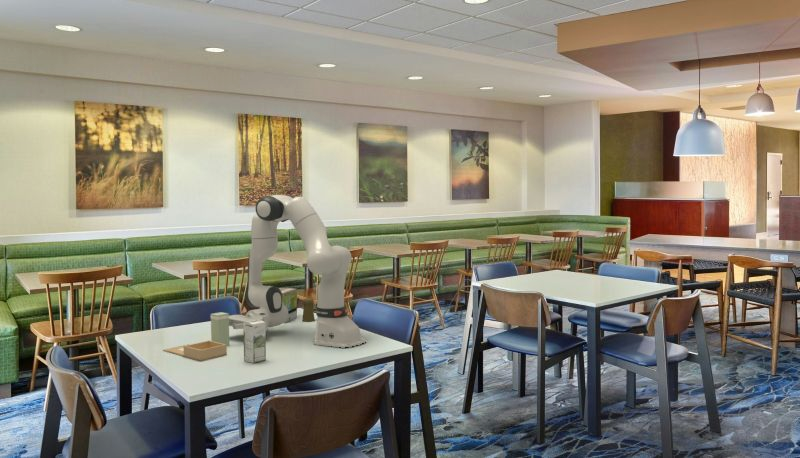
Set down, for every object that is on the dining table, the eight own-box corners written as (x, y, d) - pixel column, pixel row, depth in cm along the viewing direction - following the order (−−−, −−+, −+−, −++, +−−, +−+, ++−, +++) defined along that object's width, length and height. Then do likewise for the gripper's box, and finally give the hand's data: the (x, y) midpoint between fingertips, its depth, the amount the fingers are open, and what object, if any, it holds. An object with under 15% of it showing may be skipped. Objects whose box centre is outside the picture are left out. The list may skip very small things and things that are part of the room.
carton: (229, 345, 250) (228, 313, 249) (218, 347, 246) (217, 315, 245) (222, 343, 253) (221, 312, 252) (211, 345, 249) (210, 314, 248)
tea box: (286, 323, 292) (285, 292, 291) (266, 322, 294) (265, 292, 293) (297, 317, 306) (297, 287, 306) (278, 316, 308) (278, 287, 308)
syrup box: (256, 357, 230) (255, 319, 229) (266, 360, 226) (265, 321, 225) (243, 361, 226) (242, 321, 225) (253, 363, 222) (252, 323, 221)
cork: (302, 322, 293) (302, 299, 293) (301, 320, 299) (300, 297, 299) (315, 321, 295) (315, 298, 294) (313, 319, 301) (313, 296, 300)
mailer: (226, 354, 234) (226, 344, 234) (200, 361, 226) (200, 350, 226) (188, 345, 251) (188, 335, 251) (163, 350, 242) (162, 340, 242)
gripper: (239, 310, 269) (212, 315, 258) (269, 315, 256) (242, 320, 245) (240, 324, 269) (212, 329, 259) (270, 330, 256) (242, 336, 246)
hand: (227, 325), depth 252 cm, fingers open, 8 cm apart
